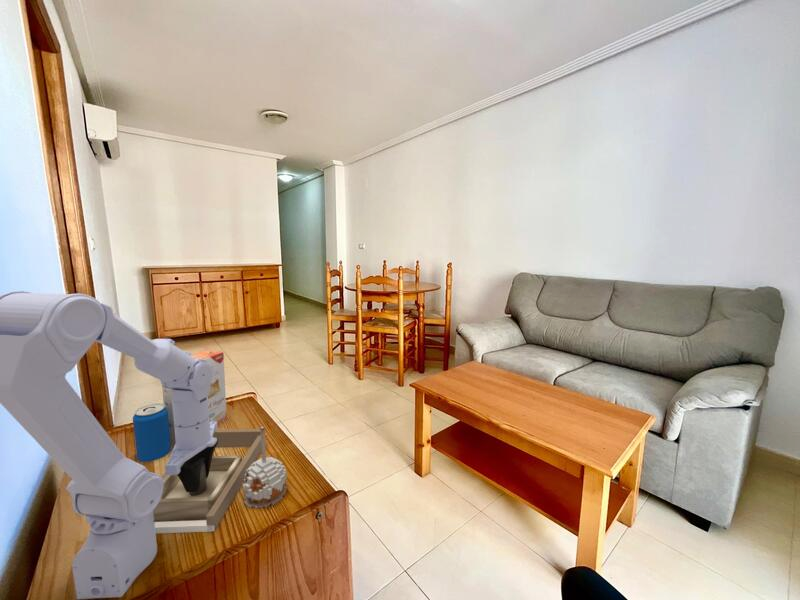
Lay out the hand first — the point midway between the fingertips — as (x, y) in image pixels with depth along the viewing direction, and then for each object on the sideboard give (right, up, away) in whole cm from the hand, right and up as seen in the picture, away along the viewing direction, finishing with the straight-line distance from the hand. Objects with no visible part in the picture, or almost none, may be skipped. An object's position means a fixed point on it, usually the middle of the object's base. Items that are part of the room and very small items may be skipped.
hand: (197, 484), depth 65 cm
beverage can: (-18, -1, +13) cm, 22 cm away
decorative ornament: (+13, -3, +1) cm, 14 cm away
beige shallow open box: (0, -2, 0) cm, 2 cm away
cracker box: (-13, +1, +23) cm, 27 cm away
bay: (0, -2, +4) cm, 5 cm away
